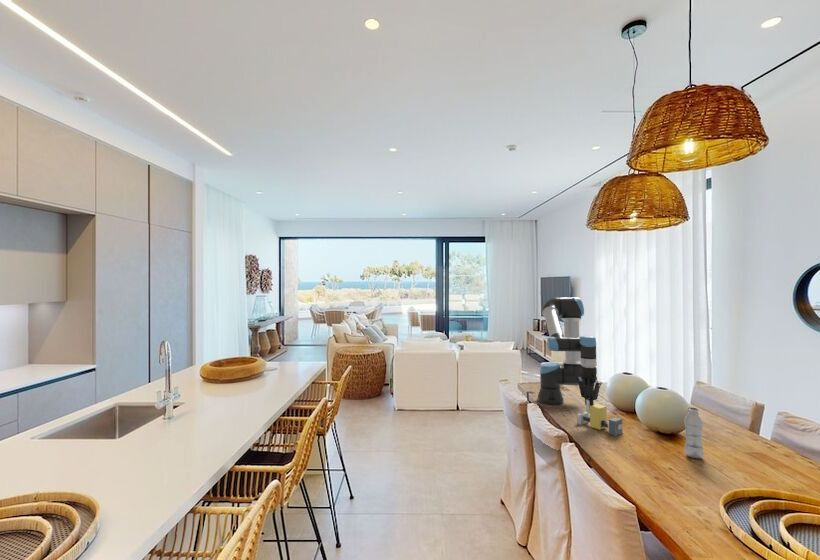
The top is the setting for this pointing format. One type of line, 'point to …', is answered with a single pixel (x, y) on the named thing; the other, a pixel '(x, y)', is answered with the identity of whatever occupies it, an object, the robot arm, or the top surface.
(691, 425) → the plastic bottle
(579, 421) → the grey slider rail
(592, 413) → the yellow rectangular block
